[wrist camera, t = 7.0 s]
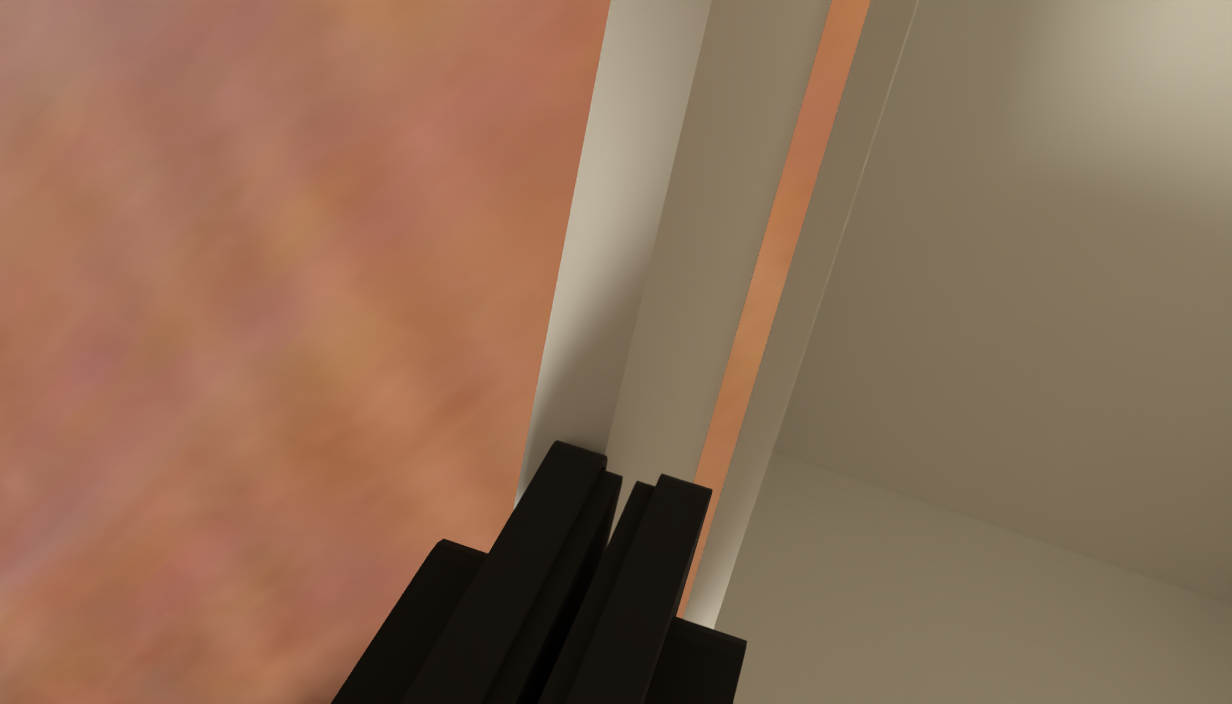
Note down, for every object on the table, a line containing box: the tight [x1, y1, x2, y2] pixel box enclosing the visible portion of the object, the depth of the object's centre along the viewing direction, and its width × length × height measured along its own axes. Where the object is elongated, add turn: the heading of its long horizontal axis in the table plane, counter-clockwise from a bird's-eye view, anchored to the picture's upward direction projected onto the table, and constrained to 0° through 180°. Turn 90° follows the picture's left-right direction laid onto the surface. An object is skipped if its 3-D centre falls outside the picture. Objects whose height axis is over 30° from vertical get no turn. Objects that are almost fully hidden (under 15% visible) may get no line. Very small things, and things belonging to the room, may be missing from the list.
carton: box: [683, 0, 1232, 704], centre depth 22 cm, size 15×22×11 cm
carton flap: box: [513, 0, 832, 546], centre depth 15 cm, size 7×19×1 cm
